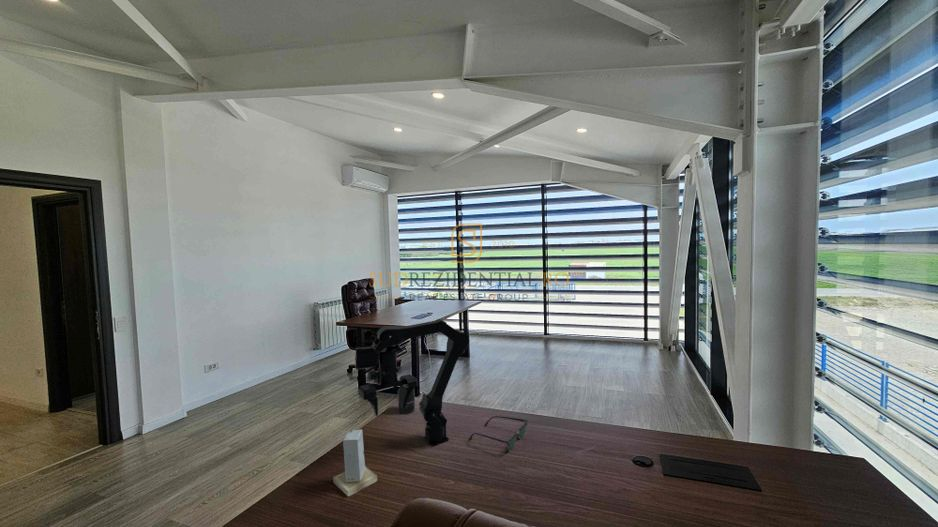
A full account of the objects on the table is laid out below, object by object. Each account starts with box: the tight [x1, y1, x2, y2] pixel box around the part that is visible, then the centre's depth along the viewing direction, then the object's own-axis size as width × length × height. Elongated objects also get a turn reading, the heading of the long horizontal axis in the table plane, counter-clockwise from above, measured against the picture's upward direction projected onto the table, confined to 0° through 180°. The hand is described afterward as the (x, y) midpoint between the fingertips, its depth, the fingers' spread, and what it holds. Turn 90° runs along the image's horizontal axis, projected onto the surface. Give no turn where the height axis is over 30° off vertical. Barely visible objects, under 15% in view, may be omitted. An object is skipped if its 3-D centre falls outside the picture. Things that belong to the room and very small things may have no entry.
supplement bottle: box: [397, 388, 416, 415], centre depth 149 cm, size 7×7×12 cm
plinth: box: [332, 466, 378, 497], centre depth 103 cm, size 9×9×2 cm
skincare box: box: [342, 429, 366, 482], centre depth 103 cm, size 6×4×12 cm
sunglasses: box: [469, 415, 529, 452], centre depth 125 cm, size 16×17×5 cm
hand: (389, 411), depth 119 cm, fingers open, 9 cm apart
